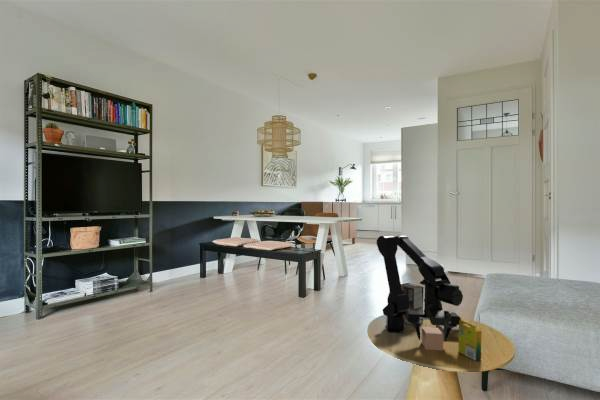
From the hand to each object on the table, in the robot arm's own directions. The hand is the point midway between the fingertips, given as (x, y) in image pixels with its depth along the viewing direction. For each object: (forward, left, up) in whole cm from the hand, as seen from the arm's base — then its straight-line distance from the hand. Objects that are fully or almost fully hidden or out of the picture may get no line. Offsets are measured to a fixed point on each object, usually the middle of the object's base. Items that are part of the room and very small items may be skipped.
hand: (432, 340), depth 126 cm
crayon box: (+11, -6, -2) cm, 13 cm away
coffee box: (-2, +26, -2) cm, 26 cm away
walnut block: (+11, +13, -3) cm, 17 cm away
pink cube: (0, 0, -2) cm, 2 cm away
